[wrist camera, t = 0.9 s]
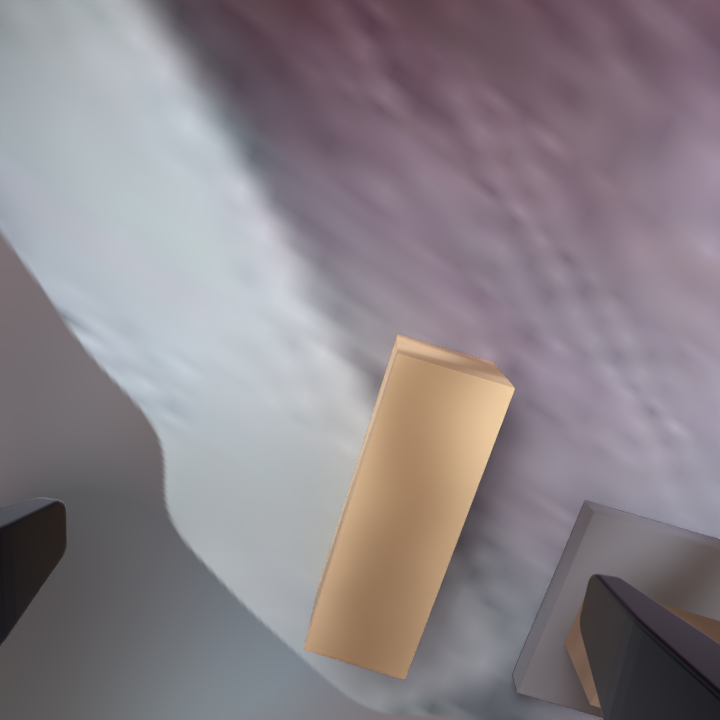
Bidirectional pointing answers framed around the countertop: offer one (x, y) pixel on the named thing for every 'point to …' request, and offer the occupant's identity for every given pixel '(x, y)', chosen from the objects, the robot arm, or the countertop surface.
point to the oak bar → (406, 504)
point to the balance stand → (635, 566)
